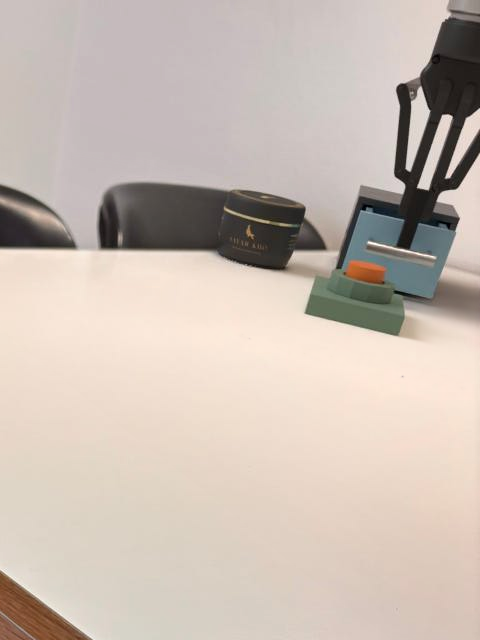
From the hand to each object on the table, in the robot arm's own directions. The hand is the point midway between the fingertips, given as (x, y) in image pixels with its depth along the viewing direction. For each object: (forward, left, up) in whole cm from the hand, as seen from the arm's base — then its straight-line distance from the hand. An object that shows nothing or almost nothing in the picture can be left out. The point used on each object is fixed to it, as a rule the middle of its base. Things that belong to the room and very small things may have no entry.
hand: (402, 247), depth 127 cm
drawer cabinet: (+13, -12, -6) cm, 19 cm away
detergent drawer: (+4, -4, -5) cm, 8 cm away
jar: (+16, +9, -6) cm, 19 cm away
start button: (-7, +13, -3) cm, 15 cm away
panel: (-7, +13, -6) cm, 16 cm away
